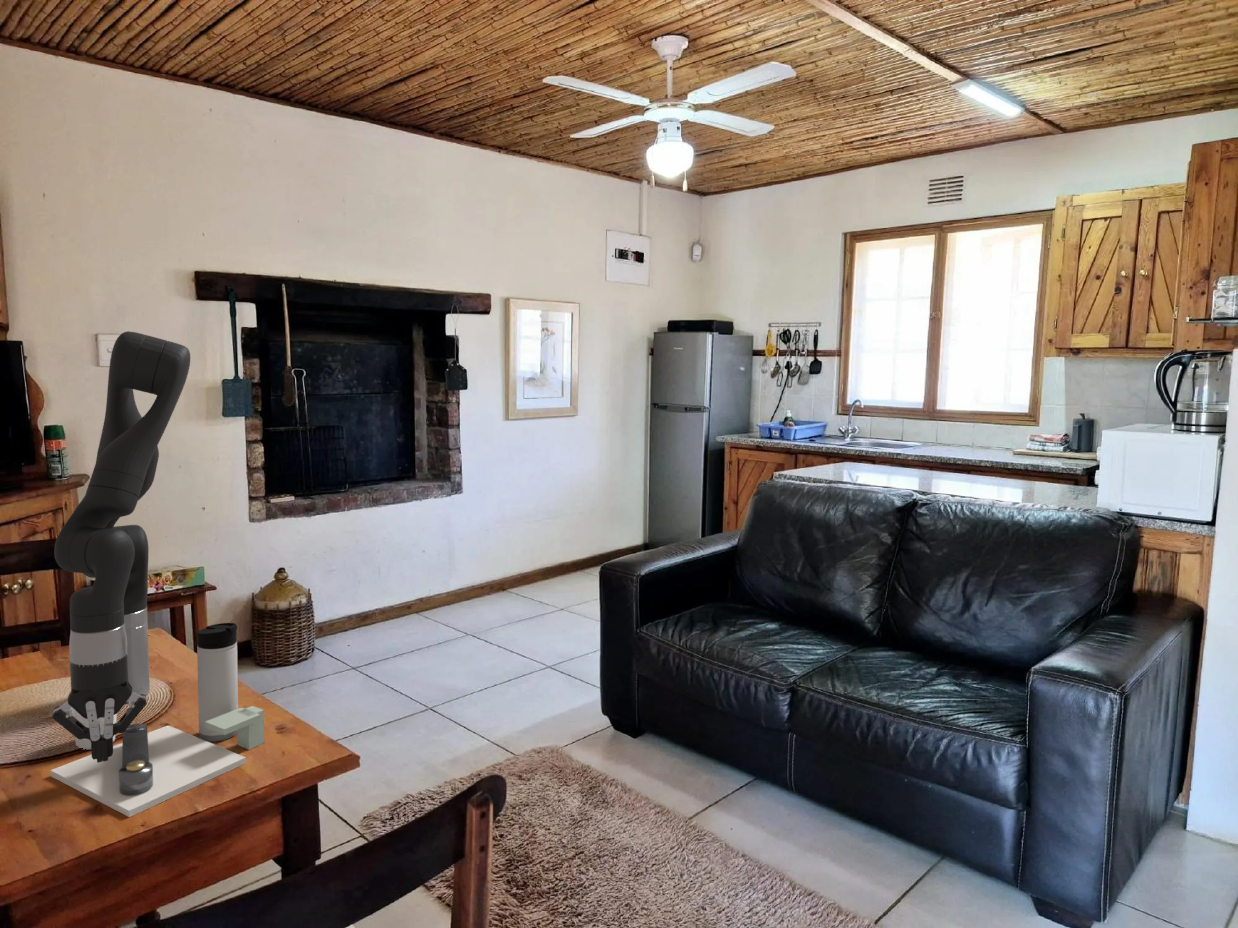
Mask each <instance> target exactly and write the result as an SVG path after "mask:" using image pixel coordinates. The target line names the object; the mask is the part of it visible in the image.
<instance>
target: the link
mask: <svg viewBox="0 0 1238 928" xmlns="http://www.w3.org/2000/svg"><path fill="white" fill-rule="evenodd" d="M147 733H148V725H147V724H145V723H134V724H130V725H129V726H128V728H127V729H126V730H125V731H124V732H123V733H122V742H121V743H122V768H121V769H120V770H119V792H120V793H121V794H123V795H135V794H140V793H143V792H145V791H147V790H149V789H150V788H151V787H152V786H153V765H152V764H151V763H150V762H149V754H148V734H147Z"/></svg>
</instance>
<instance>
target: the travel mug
mask: <svg viewBox="0 0 1238 928" xmlns="http://www.w3.org/2000/svg"><path fill="white" fill-rule="evenodd" d="M237 630H238V625H237V623H235V622H221V623H215V624H211V625H207V626H206V627H205V628H202V629H198V630H197V631H196V636H197V638H196V639H197V644H196V648H197V650H196V651H197V653H196V654H197V655H196V656H197V657H196V658H197V659H196V660H197V687H198V688H197V692H198V696H197V697H198V700H197V701H198V702H197V703H198V738H200V739H202V740H205V741H207V742H209V743H212V742H221V741H226V740H229V739H232V738H233V737H234V736H236V735H238V731H237V730H236V731H233V732H231V733H228V734H226V735H223V734H220V733H218V732H215V731H213V730H210V729H208V728H205V722H206V721H208V720H211V719H213V718H216V717H218V716H221V715H223V714H226V713H228V712H231V711H233V710H236V709H238V708H239V687H238V686H239V685H238V683H239V682H238V681H239V679H238V678H239V677H238V640H237V639H238V637H237V635H238V634H237Z"/></svg>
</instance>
